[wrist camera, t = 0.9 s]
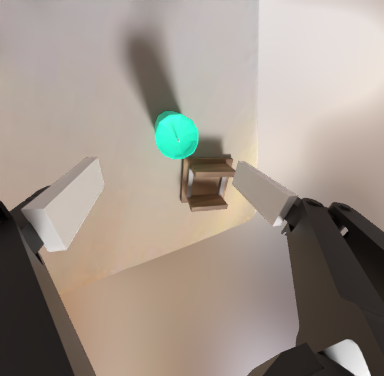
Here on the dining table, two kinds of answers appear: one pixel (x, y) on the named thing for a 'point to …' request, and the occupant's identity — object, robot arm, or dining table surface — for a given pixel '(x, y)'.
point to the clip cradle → (205, 182)
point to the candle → (175, 135)
